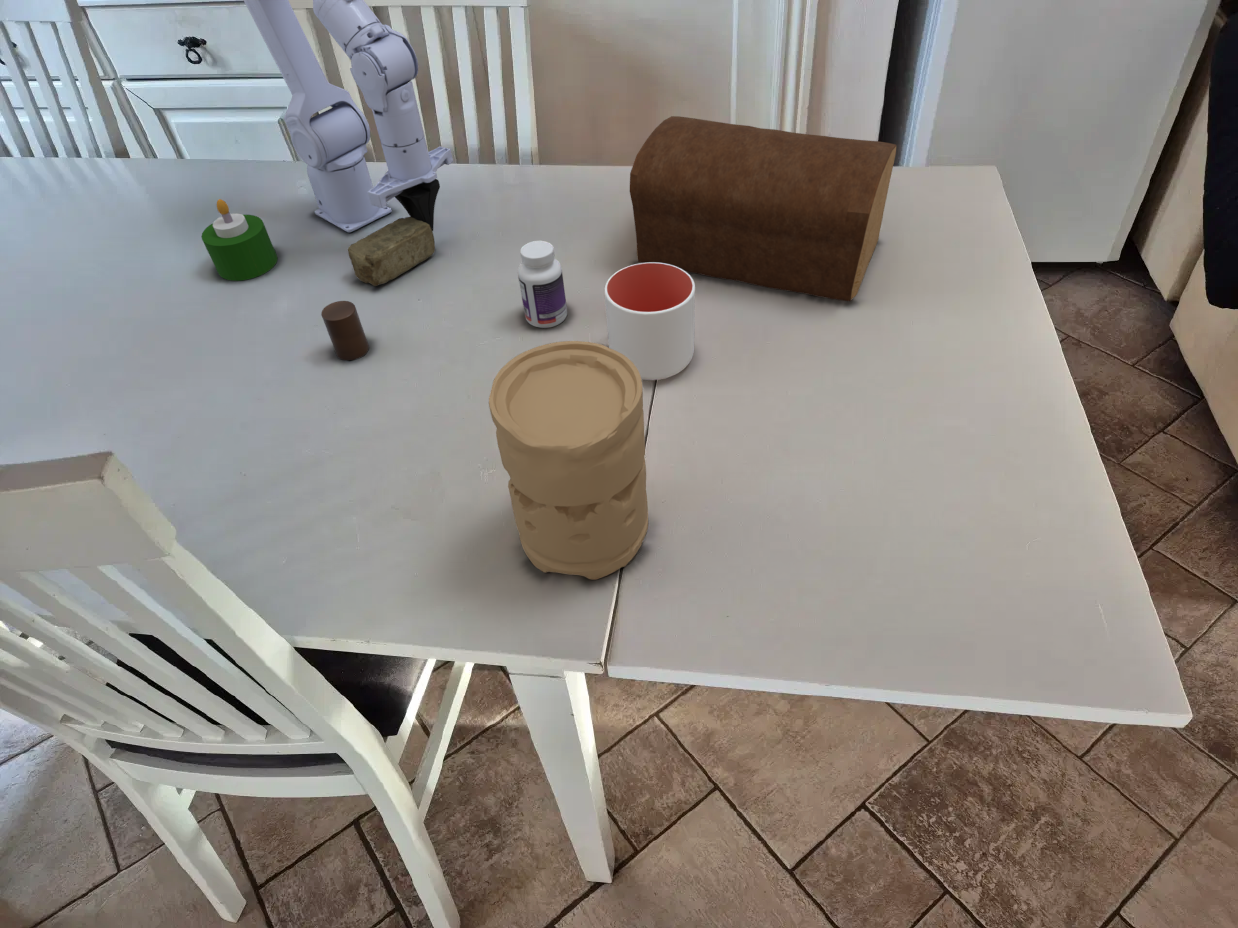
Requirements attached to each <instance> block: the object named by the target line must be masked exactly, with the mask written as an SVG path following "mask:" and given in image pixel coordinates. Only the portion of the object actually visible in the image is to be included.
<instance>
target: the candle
mask: <svg viewBox="0 0 1238 928" xmlns="http://www.w3.org/2000/svg"><path fill="white" fill-rule="evenodd" d="M216 209H217V212H218V213H219V214H220V215H221V216H219V217H218V218H216V219H215V220H214V221H212V223H210V224H209V225H208V226H207V227H206V228H205V229H204V230H203V231H202V233H201V240H202V242H203V245H204V246H205V249H206V250H207V253H208V255H209V257H210V259H211V261H212V263H213V265H214V267H215V269H216V272H217V274H218V276H220V277H221V278H222V279H224V280H227V281H234V282H240V281H247V280H251V279H252V280H253V279H255V278H258V277H260V276H262V275H264V274H266V273H268V272H269V271H270V270H272V269H273V268H274V267H275V265H276V264H277V263H278V255H277V253H276V250H275V247H274V245H273V242H272V239H271V237H270V235H269V233H268V231H267V228H266V225H265V222H264V221H263V219H262V218H260V217H259V216H257V215H254V214H242V213H236V212H235V213H230V207H229V205H228V203H227V202H226V201H224V200H223V199H221V198H219V199H218V200H217V201H216Z"/></svg>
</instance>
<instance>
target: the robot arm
mask: <svg viewBox="0 0 1238 928" xmlns="http://www.w3.org/2000/svg"><path fill="white" fill-rule="evenodd" d="M243 2H244V4H245V6H246V8H247V10H248V12H249V14H250V16H251V17H252V19H253V22H254V24H255V25H256V27H257V29H258V31H259V33H260V35H261V37H262V39H263V41H264V43H265V45H266V47H267V49H268V52H270V55H271V57H272V59H273V60H274V62H275V65H276V66H277V68H278V71H279V72H280V74H281V77H282V78H283V80H284V82H285V85H286V87H287V88H288V90H289V92H290V94H291V98H290V101H289V104H288V106H287V109H286V111H285V114H284V117H283V121H284V123H285V125H286V127H287V129H288V132H289V135H290V139H291V144H292V147H293V149H294V150H295V152H296V154H297V155H298V157H299V158H300V160H301V161H303V163H305V164H306V173H307V178H308V180H309V184H310V186H311V189H312V192H313V195H314V197H315V201H316V203H317V206H318V208H317V209H315V210H314V214H315V215H316V216H317V217H320V218H321V219H323V220H325V221H326V222H329V223H330V224H332V225H334V226H336V227H338V228H339V229H341V230H343V231H345V232H346V233H352V232H355V231H356V230H359V229H360V228H362V227H365V226H366V225H368V224H370V223H373V222H374V221H376V220H378V219H380V218H382V217H384V216H386V215H389V214H390V213H392V208H391V207H389V206H388V202H389V201H390V200H392V199H394V198H395V199H396V200H397V201H398V202H399V204H401V205H402V207H403V208H404V210H405V211H406V212H407V214H408V215H409V217H412V218H414V219H416V220H419V221H423V222H425V223H427V224H429V225H430V227H431V230H432V232H434V225H435V224H434V220H435V219H434V217H435V207H436V200H437V197H438V195H439V190H440V188H441V186H440V181H439V179H437V178H438V174H437V171H438V170H439V169H440V168H441V167H443V166H445V165H447V166H449V165H451V164H452V163H454V160H453V155H452V154H453V153H452V150H451V148H448V147H444V146H438V147H436V148H434V149H432V150H428V144H427V141H426V140H427V139H426V137H425V133H424V127H423V124H422V119H421V115H420V111H419V106H418V102H417V101H418V100H417V97H416V93H415V88H414V84H413V80H415V79H416V78H417V76H418V73H419V61H418V57H417V54H416V51H415V50H414V48H413V46H412V44H411V43H410V42H409V39H408V38H407V37H406V36H405V35H404V34H403V33H402V32H399V31H397V30H394V29H392V27H391V26H390V25H389V24H383V23H382V22H381V21H380V19H379V18H378V17H377V15H376V14H375V13H374V11H373V10H372V9H371V7H370V6H369V5H368V3H366V1H365V0H312V10H313V14H314V15H315V16H316V18H317V19H318V20H319V22H320V23H321V24H322V26H323V27H324V28H325V29H326V31H327V32H328V33H329V34H330V35H331V37H332V38H333V39H334V41H335V42H336V43H337V45H338V46H339V47H340V48H341V50H342V51H343V52H344V53H345V54H346V56H347V57H348V59H349V60H350V66H351V67H350V68H349V71H350V73H351V76H352V78H353V80H354V82H355V84H356V86H357V87H358V88H359V90H360V91H361V93H362V95H363V98H364V102H365V104H366V105H367V107H368V108H369V109H371V112H372V115H373V120H374V122H375V126H376V130H377V134H378V137H379V141H380V145H381V148H382V152H383V156H384V159H385V162H386V167H387V171H386V173H384V175H383V176H382V177H381V178H380V180H379V181H378V182H377V183H376V185H374V186H373V181H372V178H371V175H370V171H369V167H368V165H367V161H366V157H365V154H366V153H368V148H367V145H368V144H369V142H370V140H371V128H370V125H369V121H368V118H367V117H366V116H365V114H364V113H363V111H362V110H361V109H360V108H359V107H358V105H357V104H356V103H355V101H354V99H353V98H352V95H351V93H350V91H348V90H347V89H344V88H342V87H339V86H337V85H334V84H332V83H330V82H329V80H328V79H327V78H326V75H325V73H324V71H323V68H322V67H321V64H320V63H319V61H318V59H317V56H316V54H315V53H314V51H313V48H312V46H311V44H310V41H309V40H308V38H307V36H306V34H305V32H304V30H303V27H302V25H301V24H300V21H299V19H298V16H297V15H296V13H295V11H294V9H293V7H292V4H291V3H290V1H289V0H243ZM329 107H331V108H329ZM327 108H328V109H327ZM324 109H326V110H325V111H323V110H324ZM320 111H322V112H320ZM318 112H320V113H318ZM316 113H318V114H316ZM314 114H316V115H314ZM313 115H314V116H313Z"/></svg>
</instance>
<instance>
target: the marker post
mask: <svg viewBox="0 0 1238 928" xmlns="http://www.w3.org/2000/svg"><path fill="white" fill-rule="evenodd" d="M320 316H321V318H322V320H323V323H324V326H325V329H326V331H327V334H328V336H329V339H330V341H331V344H332V347H333V349H334V352H335V354H336V356H337V357H338V359H340V360H343V361H355V360H357V359H360V358H362V357H364V356H365V355H366V354H367V353H368V351H369V350H370V345H369V342H368V340H367V339H368V338H367V336H366V334H365V331H364V328H363V325H362V322H361V319H360V316H359V313H358V310H357V307H356V305H355V304H354V303H353V302H352V301H348V300H338V301H333V302H331V303H329V304H327V305H326V306H325V307H323V308H322V310H321V313H320Z"/></svg>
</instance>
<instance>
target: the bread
mask: <svg viewBox="0 0 1238 928" xmlns="http://www.w3.org/2000/svg"><path fill="white" fill-rule="evenodd" d="M896 155H897V144H895V143H890V142H884V141H878V140H867V139H855V138H847V137H837V136H836V137H835V136H828V135H818V134H808V133H800V132H791V131H786V130H781V129H774V128H772V129H771V128H763V127H756V126H751V125H745V124H737V123H736V124H734V123H727V122H722V121H715V120H714V121H713V120H707V119H703V118H701V119H700V118H696V117H695V118H694V117H688V116H677V115H675V116H674V115H673V116H672V115H671V116H669V117H668V118H666V119H663V120H662V121H661V123H659V124H658V125H657V126H656V127H655V128H654V130H653V131H652V132H651V133H650V134H649V135H648V137H647V138H646V139H645V141H644V143H643V144H642V146H641V148H640V149H639V151H638V152H637V154H636V156H635V158H634V161H633V164H632V167H631V170H630V172H629V196H630V200H631V204H632V213H633V220H634V229H635V230H634V231H635V241H636V256H637V257H636V258H637V262H638V263H648V262H656V263H665V264H670V265H673V266H676V267H678V268H681V269H682V270H684V271H686V272H687V273H693V274H698V275H702V276H706V277H711V278H717V279H724V280H728V281H734V282H741V283H745V284H749V285H754V286H759V287H763V288H769V289H774V290H780V291H788V292H793V293H798V294H805V295H809V296H814V297H819V298H825V299H829V300H838V301H843V302H851V301H852V300H853V299H854V298H855V297H856V296H857V295H858V293H859V290H860V288H861V285H862V283H863V279H864V277H865V275H866V272H867V269H868V267H869V264H870V262H871V259H872V256H873V255H874V252H875V249H876V248H877V244H878V242H879V239H880V233H881V228H882V222H883V218H884V213H885V207H886V203H887V197H888V192H889V186H890V182H891V177H892V173H893V168H894V163H895V159H896Z"/></svg>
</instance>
